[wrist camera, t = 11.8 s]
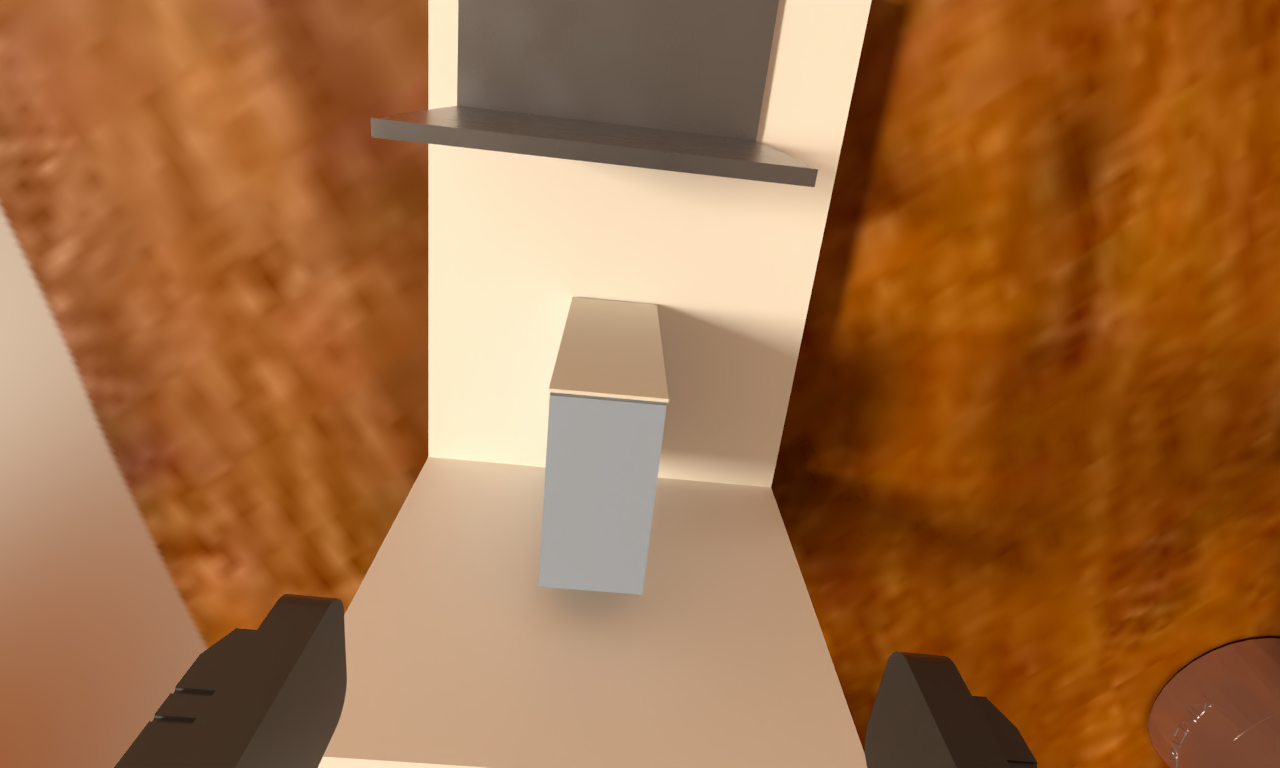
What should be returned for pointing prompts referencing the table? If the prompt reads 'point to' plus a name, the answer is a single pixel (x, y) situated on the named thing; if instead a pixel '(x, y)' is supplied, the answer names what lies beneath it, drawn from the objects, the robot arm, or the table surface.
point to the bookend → (612, 86)
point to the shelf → (688, 469)
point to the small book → (603, 447)
